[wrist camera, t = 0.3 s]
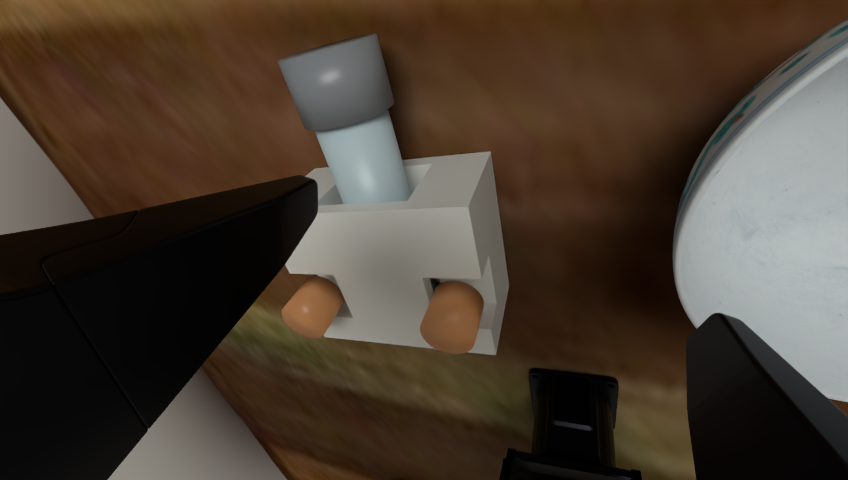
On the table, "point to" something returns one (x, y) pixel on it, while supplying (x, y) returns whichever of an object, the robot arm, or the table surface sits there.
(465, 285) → the plunger
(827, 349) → the chinaware
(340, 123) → the cartridge
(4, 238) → the robot arm
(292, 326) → the plunger
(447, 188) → the housing
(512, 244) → the table surface
